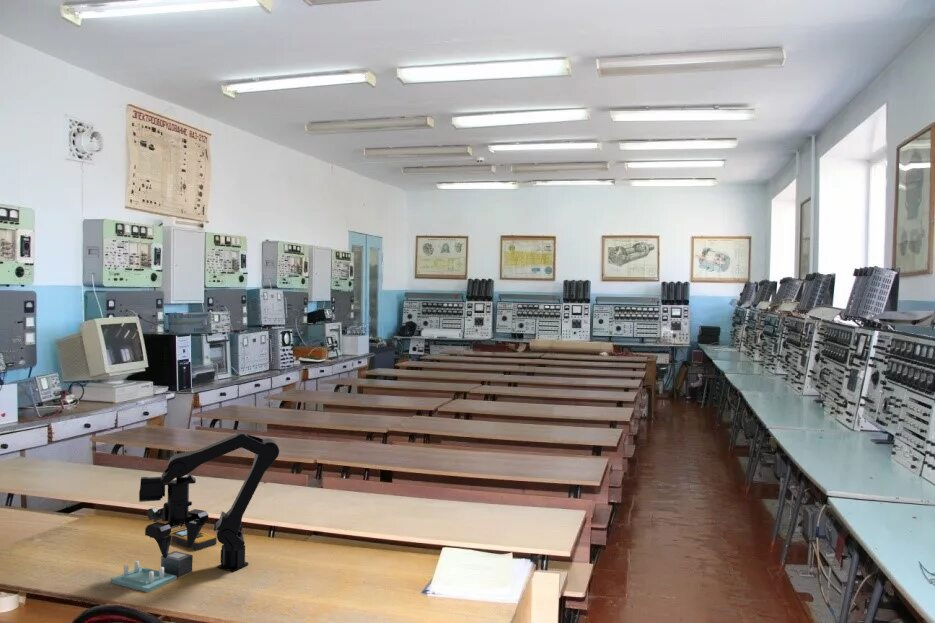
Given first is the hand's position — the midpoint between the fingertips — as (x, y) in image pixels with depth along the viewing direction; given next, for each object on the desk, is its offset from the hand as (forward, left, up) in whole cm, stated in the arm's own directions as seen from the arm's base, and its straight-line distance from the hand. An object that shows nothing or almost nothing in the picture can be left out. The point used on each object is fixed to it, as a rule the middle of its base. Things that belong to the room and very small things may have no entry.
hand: (177, 552), depth 210 cm
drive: (0, 0, -6) cm, 6 cm away
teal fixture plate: (+3, +9, -6) cm, 11 cm away
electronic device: (+15, -21, -6) cm, 27 cm away
